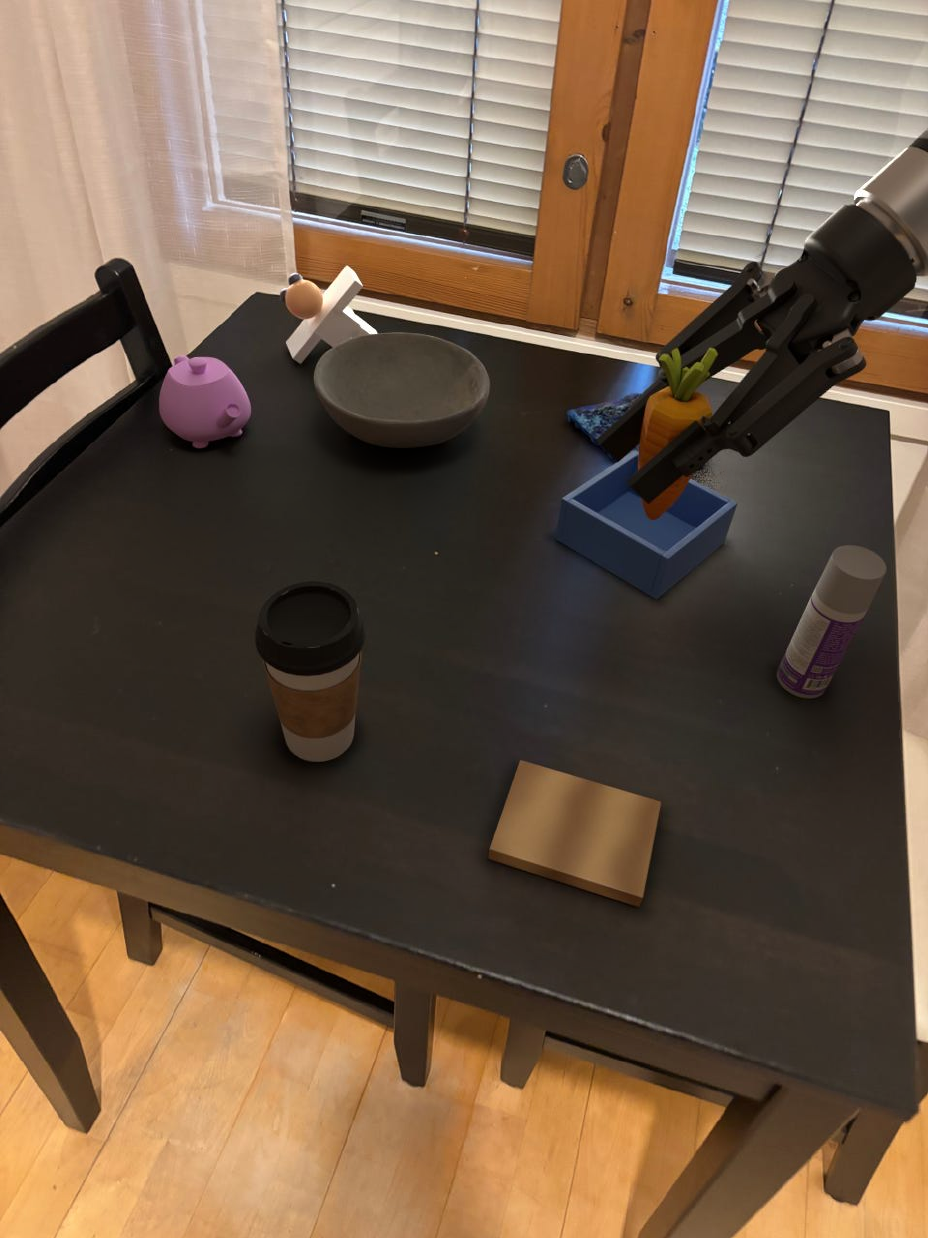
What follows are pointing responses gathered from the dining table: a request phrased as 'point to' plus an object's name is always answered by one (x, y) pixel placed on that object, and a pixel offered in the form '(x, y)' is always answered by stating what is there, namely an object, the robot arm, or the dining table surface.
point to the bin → (643, 528)
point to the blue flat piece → (601, 417)
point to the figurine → (323, 313)
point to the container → (830, 620)
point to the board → (577, 832)
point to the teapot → (203, 400)
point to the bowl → (401, 388)
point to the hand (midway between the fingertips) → (622, 470)
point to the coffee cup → (313, 665)
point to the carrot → (673, 419)
